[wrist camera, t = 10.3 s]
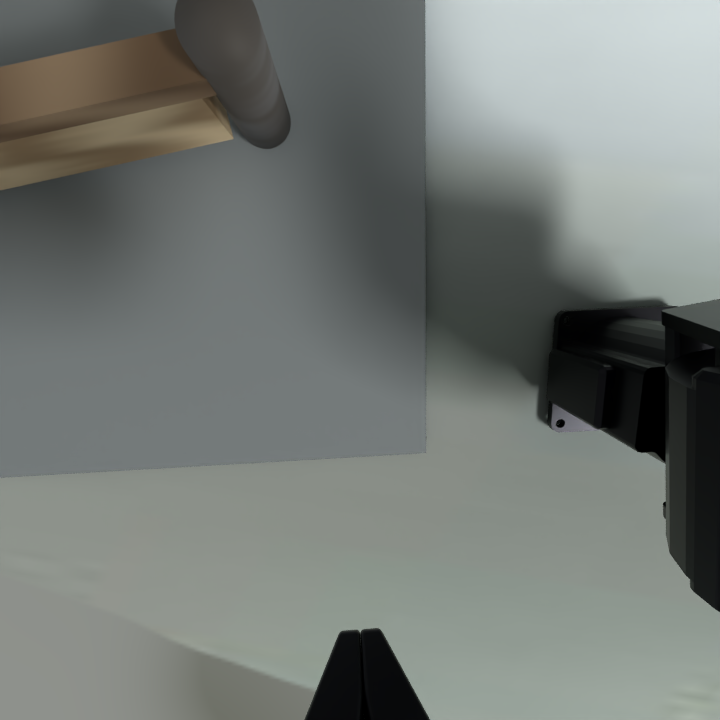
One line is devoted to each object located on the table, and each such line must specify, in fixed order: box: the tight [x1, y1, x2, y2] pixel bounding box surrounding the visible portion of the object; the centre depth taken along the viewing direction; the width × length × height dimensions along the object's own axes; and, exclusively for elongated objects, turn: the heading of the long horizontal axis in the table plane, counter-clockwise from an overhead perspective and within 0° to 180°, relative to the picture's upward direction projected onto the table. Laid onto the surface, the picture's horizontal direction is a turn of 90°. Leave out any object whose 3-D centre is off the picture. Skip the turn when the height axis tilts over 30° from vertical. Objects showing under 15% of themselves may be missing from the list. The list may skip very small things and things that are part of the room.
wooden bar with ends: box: [0, 0, 291, 190], centre depth 13 cm, size 16×2×6 cm, turn 102°
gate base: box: [0, 0, 426, 478], centre depth 15 cm, size 24×21×7 cm
